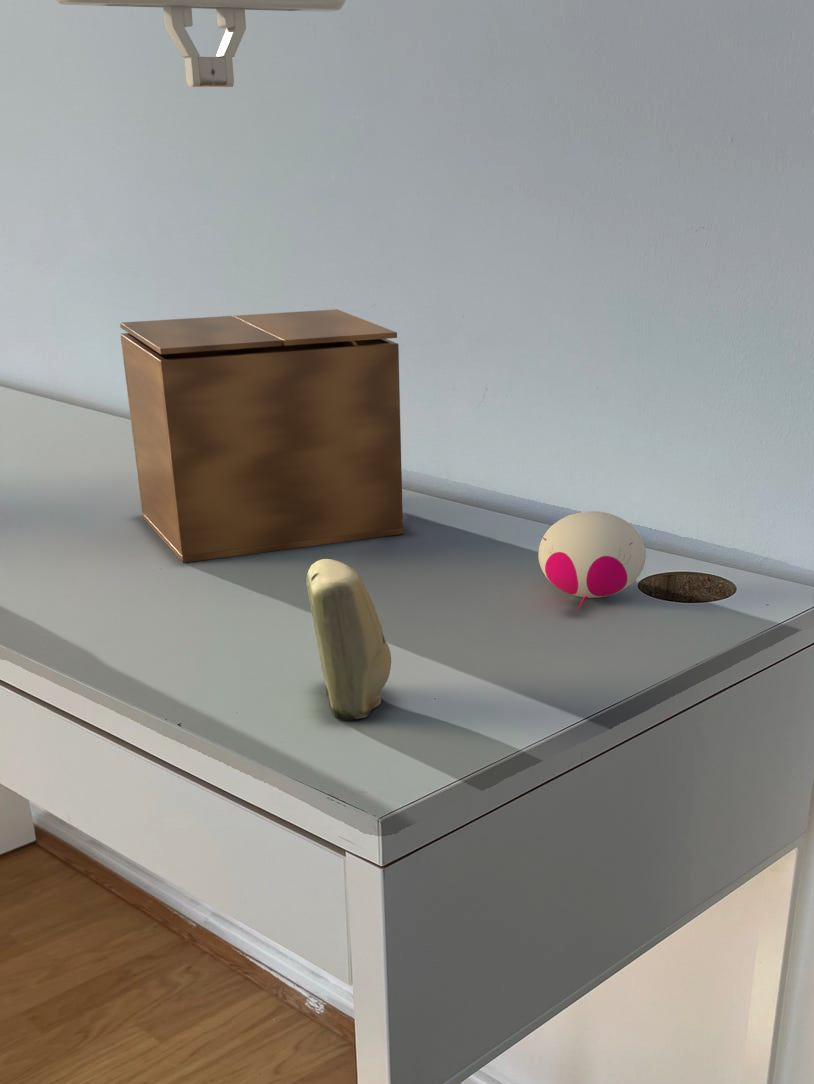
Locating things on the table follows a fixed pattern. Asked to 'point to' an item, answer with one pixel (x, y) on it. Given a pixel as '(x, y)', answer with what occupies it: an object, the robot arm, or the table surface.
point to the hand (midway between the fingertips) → (210, 87)
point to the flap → (199, 335)
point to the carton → (270, 437)
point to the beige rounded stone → (347, 639)
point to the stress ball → (592, 554)
